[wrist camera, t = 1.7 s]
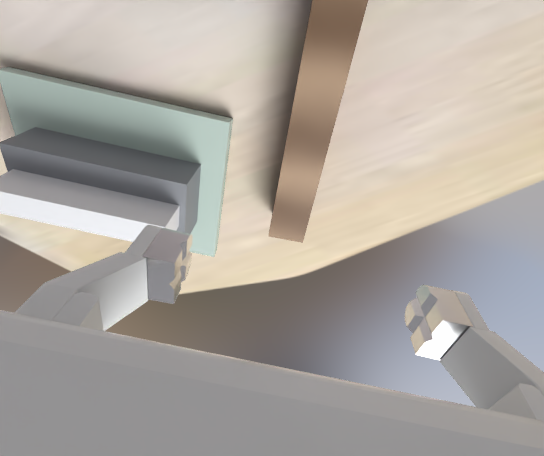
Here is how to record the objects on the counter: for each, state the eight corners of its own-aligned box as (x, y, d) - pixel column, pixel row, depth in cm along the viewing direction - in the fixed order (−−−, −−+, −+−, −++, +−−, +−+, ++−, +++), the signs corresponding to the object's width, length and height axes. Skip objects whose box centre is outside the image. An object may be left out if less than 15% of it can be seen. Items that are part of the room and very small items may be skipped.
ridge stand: (8, 66, 25) (-100, 87, 18) (233, 118, 25) (206, 156, 19) (47, 213, 33) (-18, 263, 26) (216, 249, 33) (194, 308, 27)
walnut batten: (316, -24, 20) (318, -30, 17) (363, -15, 20) (373, -20, 17) (272, 211, 30) (268, 236, 27) (303, 217, 30) (302, 242, 27)
